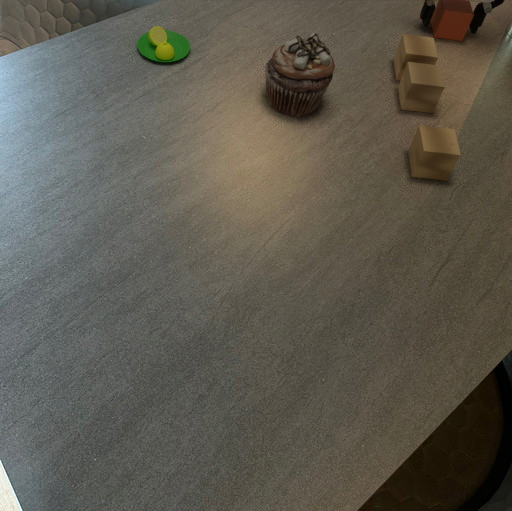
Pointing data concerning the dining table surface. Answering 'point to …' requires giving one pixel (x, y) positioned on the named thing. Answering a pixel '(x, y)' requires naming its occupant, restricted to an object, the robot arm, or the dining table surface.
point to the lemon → (163, 45)
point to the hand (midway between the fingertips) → (448, 25)
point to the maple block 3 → (433, 153)
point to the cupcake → (298, 75)
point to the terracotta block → (451, 19)
